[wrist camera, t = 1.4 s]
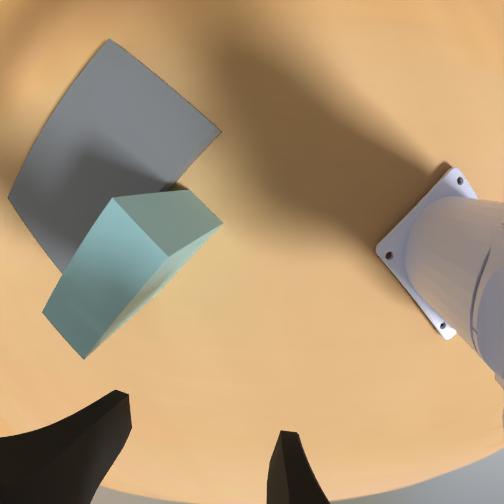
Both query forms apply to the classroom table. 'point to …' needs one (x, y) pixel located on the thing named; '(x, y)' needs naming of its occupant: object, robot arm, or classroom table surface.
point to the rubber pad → (105, 149)
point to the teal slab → (126, 263)
